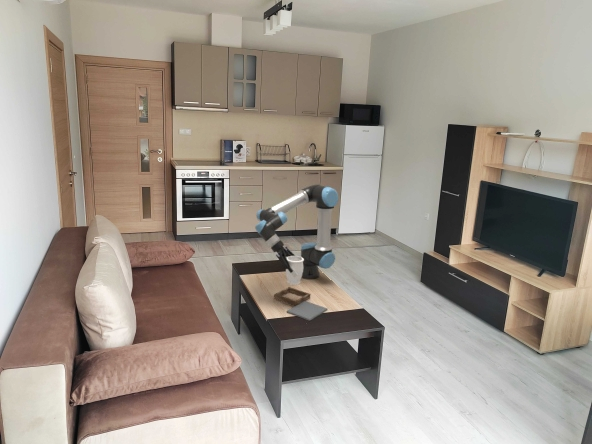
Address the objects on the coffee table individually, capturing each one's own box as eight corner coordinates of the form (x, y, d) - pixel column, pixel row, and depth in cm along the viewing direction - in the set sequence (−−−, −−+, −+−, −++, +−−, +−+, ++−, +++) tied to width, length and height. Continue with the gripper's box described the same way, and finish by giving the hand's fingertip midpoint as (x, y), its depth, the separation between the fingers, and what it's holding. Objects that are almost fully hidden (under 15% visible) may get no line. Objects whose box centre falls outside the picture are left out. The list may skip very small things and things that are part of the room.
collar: (289, 291, 288) (289, 286, 287) (310, 298, 279) (310, 293, 278) (273, 298, 276) (273, 294, 275) (295, 306, 267) (295, 301, 266)
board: (305, 302, 273) (305, 300, 273) (327, 310, 264) (327, 308, 264) (286, 312, 259) (286, 310, 259) (309, 320, 250) (309, 319, 250)
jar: (300, 287, 263) (301, 262, 259) (282, 284, 265) (284, 260, 262) (304, 280, 273) (305, 256, 269) (287, 278, 275) (288, 254, 272)
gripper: (277, 242, 279) (300, 270, 279) (263, 252, 258) (288, 283, 258) (286, 235, 276) (309, 263, 276) (272, 245, 255) (297, 275, 255)
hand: (299, 272), depth 267 cm, fingers closed on jar, 10 cm apart
